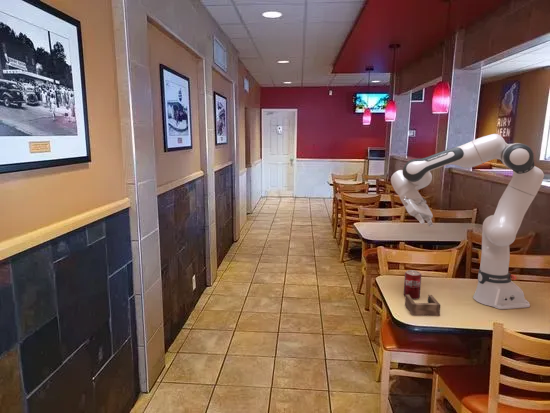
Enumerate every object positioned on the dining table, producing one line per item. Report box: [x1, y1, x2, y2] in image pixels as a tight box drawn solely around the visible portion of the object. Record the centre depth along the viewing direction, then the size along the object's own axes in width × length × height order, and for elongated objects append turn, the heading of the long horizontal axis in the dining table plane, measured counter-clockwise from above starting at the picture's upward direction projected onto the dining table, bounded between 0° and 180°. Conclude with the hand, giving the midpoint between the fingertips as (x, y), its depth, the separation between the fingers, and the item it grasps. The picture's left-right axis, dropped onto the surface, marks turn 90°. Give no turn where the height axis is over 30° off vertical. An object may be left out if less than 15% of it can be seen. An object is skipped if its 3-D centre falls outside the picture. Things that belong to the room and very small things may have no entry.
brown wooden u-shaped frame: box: [404, 294, 441, 317], centre depth 166 cm, size 12×10×5 cm
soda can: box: [403, 269, 422, 301], centre depth 179 cm, size 7×7×12 cm
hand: (427, 224), depth 173 cm, fingers open, 8 cm apart
